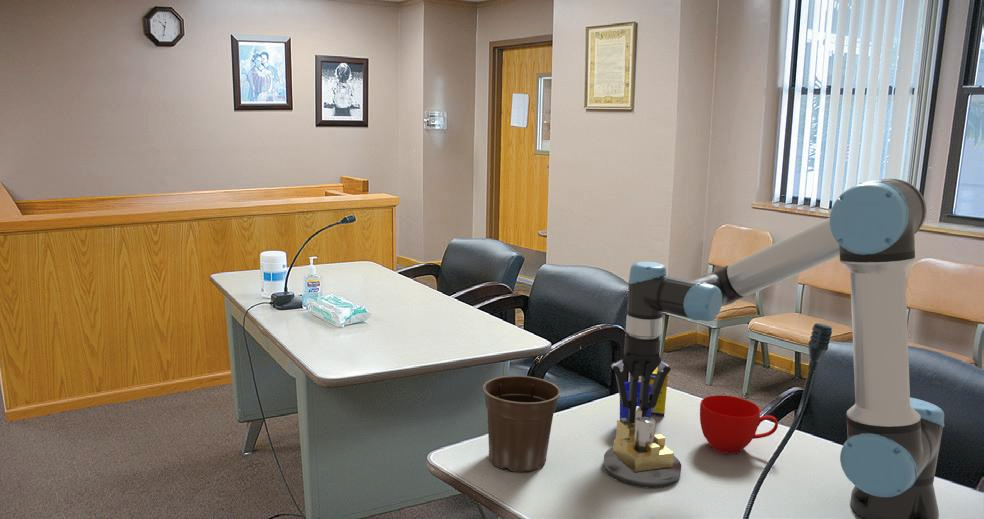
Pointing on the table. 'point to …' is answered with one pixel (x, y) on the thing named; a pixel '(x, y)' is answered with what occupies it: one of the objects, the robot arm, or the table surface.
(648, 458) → the yellow stepped block
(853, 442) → the robot arm
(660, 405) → the supplement box
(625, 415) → the mug
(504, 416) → the plant pot
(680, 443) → the table surface
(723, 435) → the ceramic cup
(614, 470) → the round base with post
